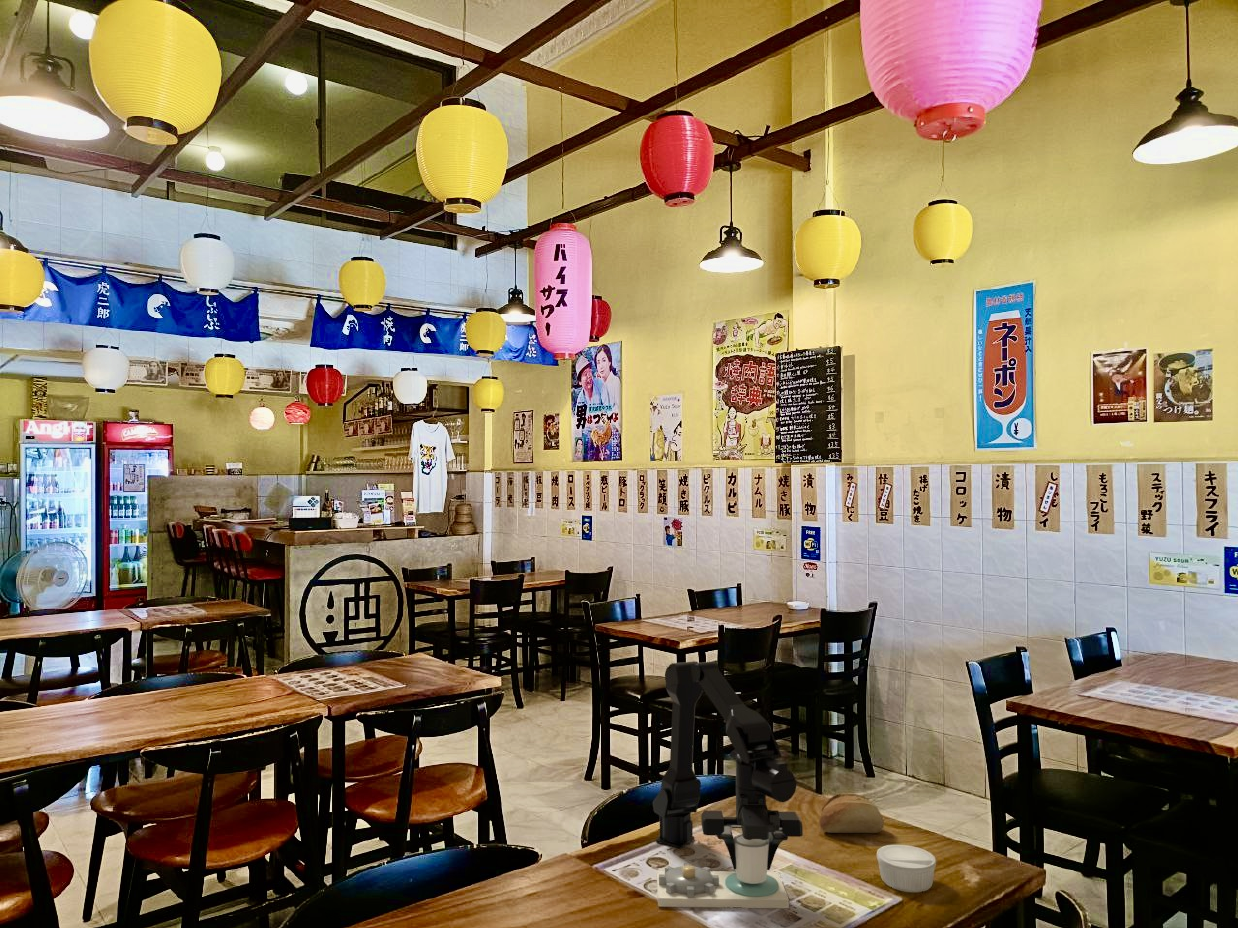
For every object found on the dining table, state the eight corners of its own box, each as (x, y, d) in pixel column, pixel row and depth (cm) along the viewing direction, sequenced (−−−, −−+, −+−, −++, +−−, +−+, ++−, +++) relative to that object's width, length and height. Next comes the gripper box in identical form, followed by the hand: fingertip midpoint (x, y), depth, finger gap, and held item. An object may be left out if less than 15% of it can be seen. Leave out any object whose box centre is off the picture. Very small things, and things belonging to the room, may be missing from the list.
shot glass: (769, 886, 155) (768, 847, 155) (732, 883, 156) (731, 844, 157) (770, 870, 162) (769, 834, 162) (734, 867, 163) (734, 831, 164)
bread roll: (811, 825, 194) (811, 790, 194) (872, 822, 196) (871, 787, 196) (827, 841, 184) (827, 804, 185) (891, 837, 186) (890, 801, 187)
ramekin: (907, 900, 156) (907, 871, 156) (864, 877, 166) (864, 850, 166) (949, 888, 161) (949, 860, 162) (905, 866, 171) (904, 840, 172)
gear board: (658, 906, 153) (658, 881, 153) (656, 878, 165) (656, 854, 165) (789, 908, 153) (788, 882, 153) (778, 879, 165) (777, 856, 165)
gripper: (705, 799, 152) (705, 887, 151) (808, 800, 152) (808, 888, 151) (701, 779, 163) (701, 861, 162) (796, 781, 163) (797, 862, 162)
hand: (751, 868), depth 159 cm, fingers closed on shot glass, 6 cm apart
